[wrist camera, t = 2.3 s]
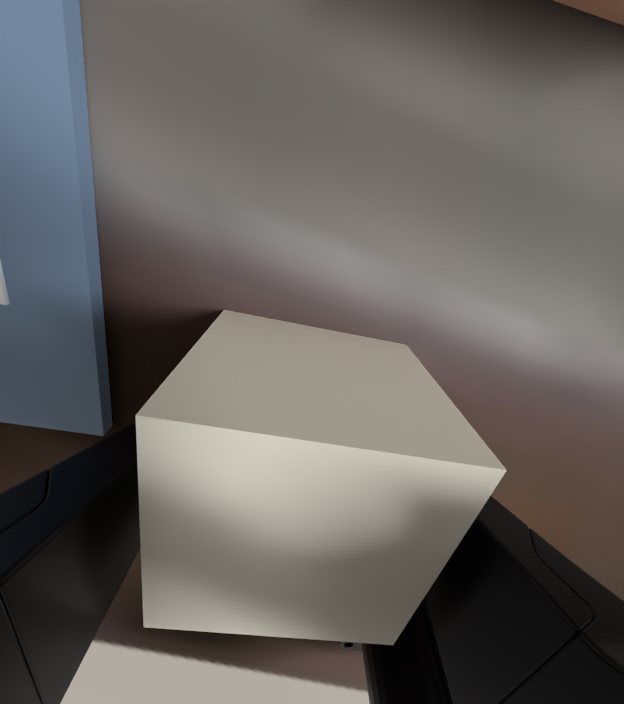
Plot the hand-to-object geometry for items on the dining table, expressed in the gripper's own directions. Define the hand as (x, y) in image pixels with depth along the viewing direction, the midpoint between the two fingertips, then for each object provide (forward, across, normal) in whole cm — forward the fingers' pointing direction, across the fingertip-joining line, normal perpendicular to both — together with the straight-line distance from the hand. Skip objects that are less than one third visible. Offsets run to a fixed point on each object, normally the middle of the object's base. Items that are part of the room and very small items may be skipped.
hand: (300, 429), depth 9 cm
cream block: (+1, 0, 0) cm, 1 cm away
